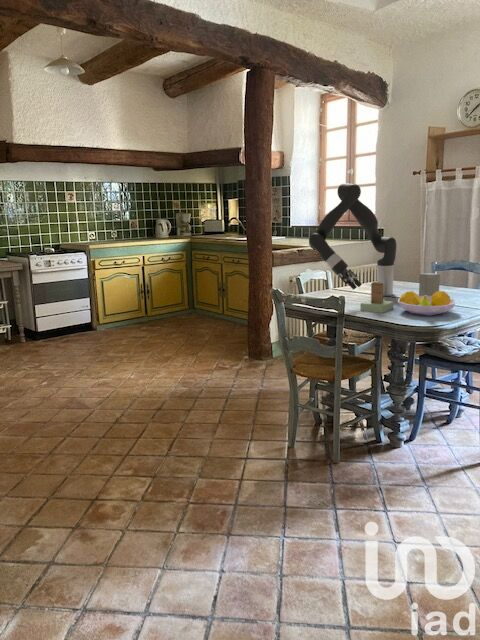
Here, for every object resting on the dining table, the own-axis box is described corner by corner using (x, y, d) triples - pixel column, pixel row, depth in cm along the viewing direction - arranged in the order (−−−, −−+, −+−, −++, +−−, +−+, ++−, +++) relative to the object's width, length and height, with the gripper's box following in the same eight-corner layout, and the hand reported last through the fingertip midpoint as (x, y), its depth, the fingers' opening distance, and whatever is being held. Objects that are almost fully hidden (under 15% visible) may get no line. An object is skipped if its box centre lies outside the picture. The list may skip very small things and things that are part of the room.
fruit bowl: (408, 305, 268) (409, 283, 265) (462, 310, 251) (464, 288, 248) (386, 315, 247) (386, 291, 244) (443, 321, 230) (445, 297, 227)
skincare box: (425, 305, 266) (427, 274, 263) (417, 302, 273) (418, 273, 270) (439, 303, 269) (441, 273, 265) (431, 301, 275) (432, 272, 272)
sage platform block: (371, 306, 268) (371, 299, 268) (393, 309, 261) (393, 301, 260) (360, 310, 260) (360, 303, 259) (382, 313, 252) (382, 305, 251)
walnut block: (373, 301, 262) (373, 281, 260) (383, 301, 260) (383, 282, 258) (371, 303, 258) (371, 283, 256) (381, 303, 256) (381, 283, 253)
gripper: (337, 260, 258) (359, 284, 255) (346, 257, 270) (367, 280, 267) (327, 270, 261) (348, 294, 258) (336, 267, 273) (356, 289, 270)
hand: (357, 287), depth 262 cm, fingers open, 8 cm apart
